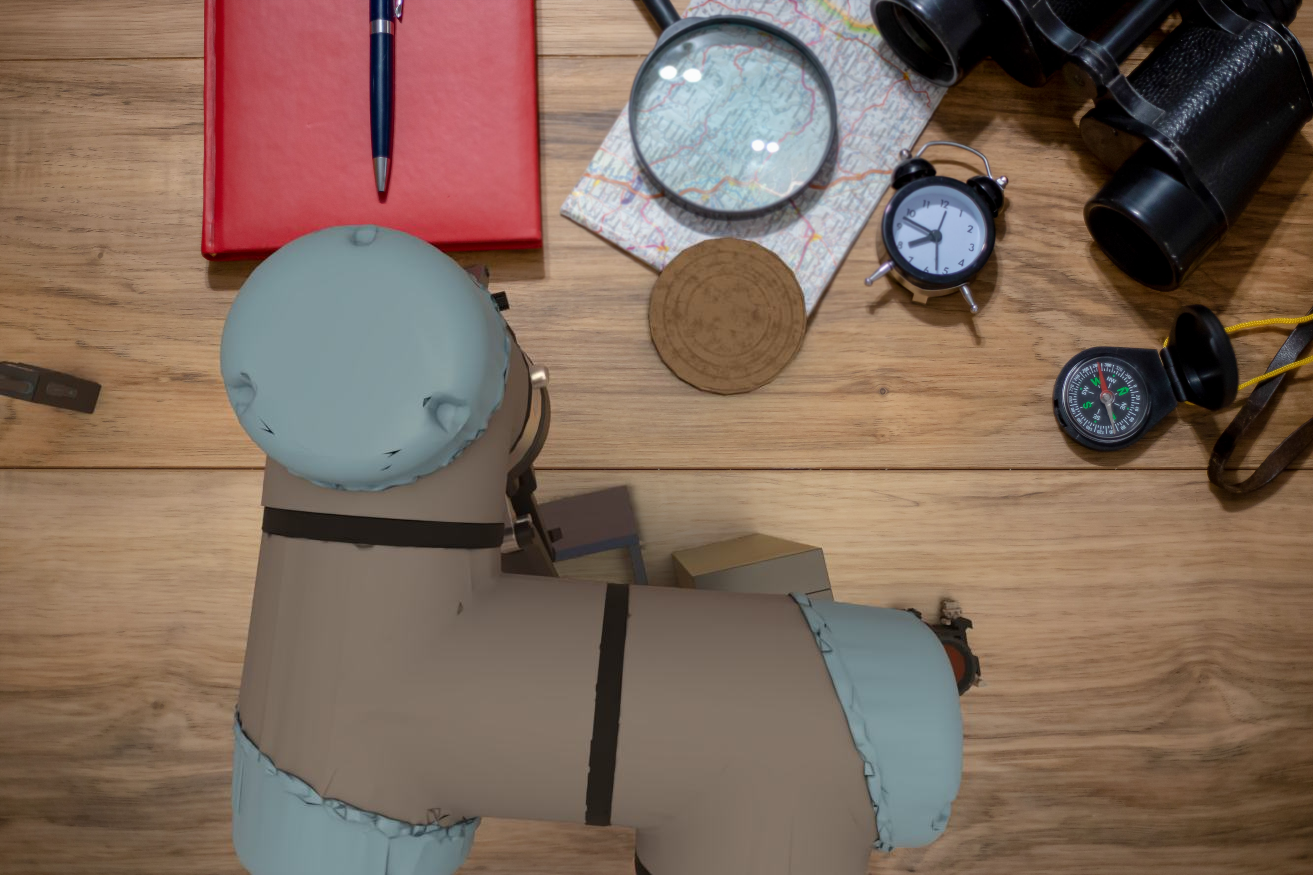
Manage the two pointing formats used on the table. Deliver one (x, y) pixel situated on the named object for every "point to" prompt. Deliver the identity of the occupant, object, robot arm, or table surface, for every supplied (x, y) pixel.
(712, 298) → the brown round disc
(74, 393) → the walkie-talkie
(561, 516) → the lid
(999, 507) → the table surface
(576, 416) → the table surface
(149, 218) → the table surface
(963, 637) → the red dot sight
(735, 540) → the button post
